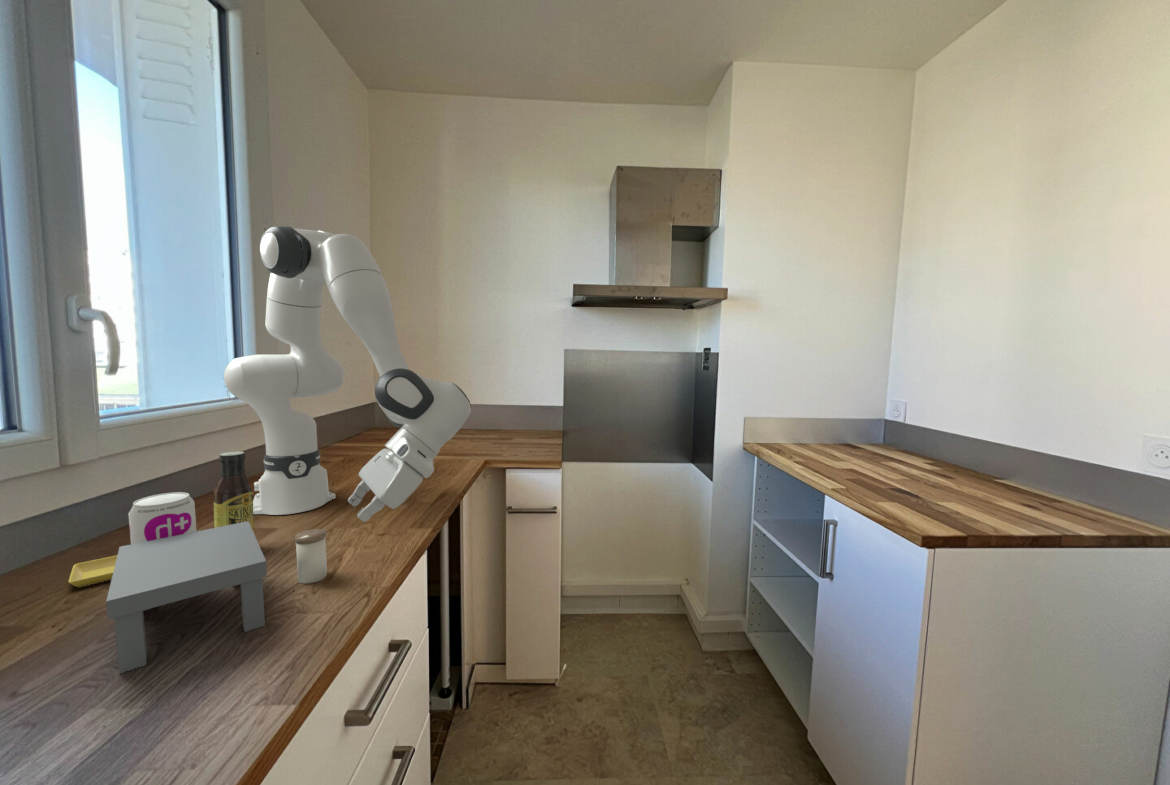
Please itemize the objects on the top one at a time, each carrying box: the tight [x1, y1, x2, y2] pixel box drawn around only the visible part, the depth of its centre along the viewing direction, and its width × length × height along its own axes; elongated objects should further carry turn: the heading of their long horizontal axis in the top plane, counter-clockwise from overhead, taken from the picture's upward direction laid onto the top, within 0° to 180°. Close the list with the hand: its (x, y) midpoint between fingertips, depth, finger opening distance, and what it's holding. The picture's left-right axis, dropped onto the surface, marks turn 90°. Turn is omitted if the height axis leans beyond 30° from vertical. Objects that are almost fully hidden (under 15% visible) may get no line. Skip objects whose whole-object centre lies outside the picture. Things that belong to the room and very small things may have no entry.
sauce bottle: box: [213, 451, 255, 534], centre depth 90 cm, size 6×6×20 cm
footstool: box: [105, 521, 268, 675], centre depth 68 cm, size 20×16×10 cm
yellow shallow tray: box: [68, 554, 118, 588], centre depth 81 cm, size 9×9×2 cm
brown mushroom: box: [294, 528, 328, 585], centre depth 80 cm, size 5×5×8 cm
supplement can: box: [128, 491, 197, 545], centre depth 77 cm, size 8×8×15 cm
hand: (355, 511), depth 84 cm, fingers open, 8 cm apart
